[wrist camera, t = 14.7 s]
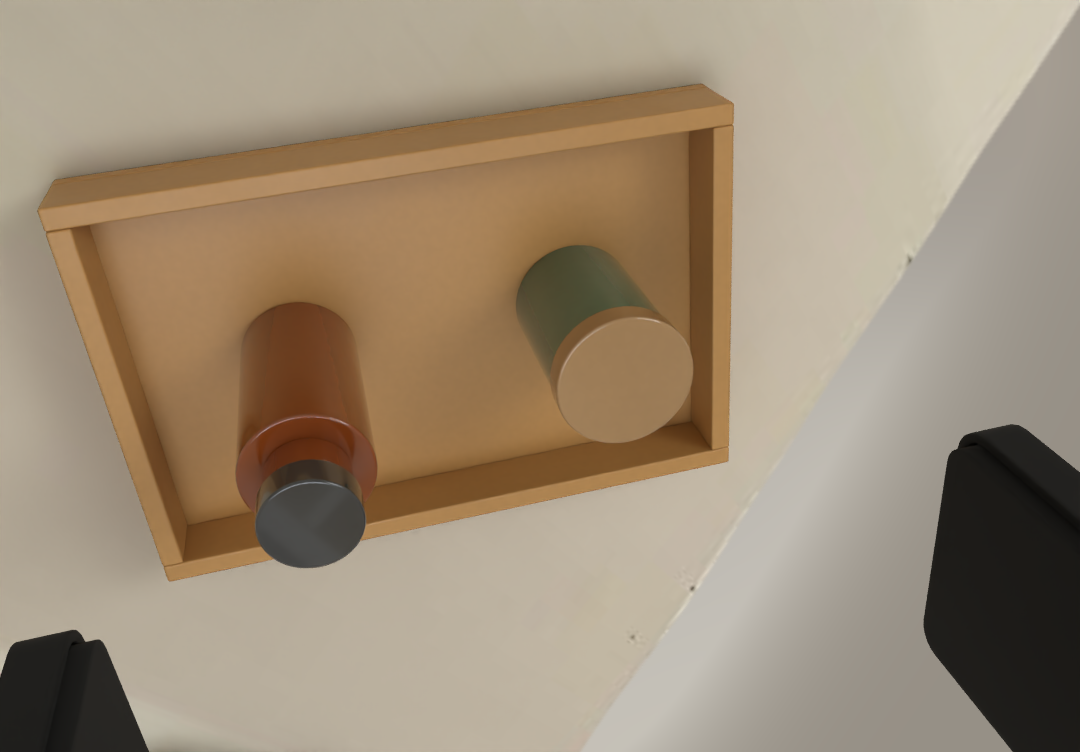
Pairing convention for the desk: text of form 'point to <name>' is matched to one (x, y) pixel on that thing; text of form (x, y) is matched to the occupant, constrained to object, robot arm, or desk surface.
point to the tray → (400, 301)
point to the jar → (602, 345)
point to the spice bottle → (304, 435)
